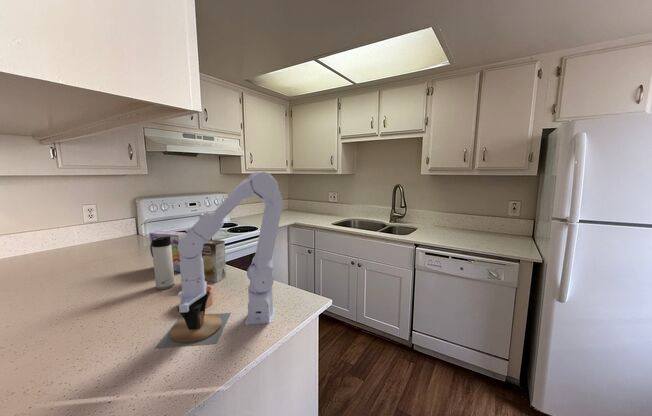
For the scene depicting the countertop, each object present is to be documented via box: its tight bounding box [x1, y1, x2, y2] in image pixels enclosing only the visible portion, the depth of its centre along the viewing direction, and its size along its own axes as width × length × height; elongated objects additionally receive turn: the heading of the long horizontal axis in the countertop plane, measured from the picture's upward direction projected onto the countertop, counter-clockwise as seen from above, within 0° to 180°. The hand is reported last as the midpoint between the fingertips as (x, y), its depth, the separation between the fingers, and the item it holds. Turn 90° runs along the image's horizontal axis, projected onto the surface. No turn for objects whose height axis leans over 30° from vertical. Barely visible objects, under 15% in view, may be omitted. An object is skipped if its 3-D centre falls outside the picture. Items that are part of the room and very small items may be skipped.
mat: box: [153, 312, 232, 350], centre depth 74 cm, size 15×15×1 cm
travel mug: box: [152, 236, 176, 291], centre depth 102 cm, size 6×7×20 cm
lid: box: [170, 311, 222, 343], centre depth 74 cm, size 13×13×4 cm
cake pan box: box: [148, 229, 187, 272], centre depth 121 cm, size 19×5×18 cm, turn 70°
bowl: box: [179, 284, 216, 310], centre depth 88 cm, size 10×10×5 cm
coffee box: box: [201, 238, 227, 283], centre depth 110 cm, size 9×6×16 cm
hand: (196, 323), depth 74 cm, fingers open, 4 cm apart
